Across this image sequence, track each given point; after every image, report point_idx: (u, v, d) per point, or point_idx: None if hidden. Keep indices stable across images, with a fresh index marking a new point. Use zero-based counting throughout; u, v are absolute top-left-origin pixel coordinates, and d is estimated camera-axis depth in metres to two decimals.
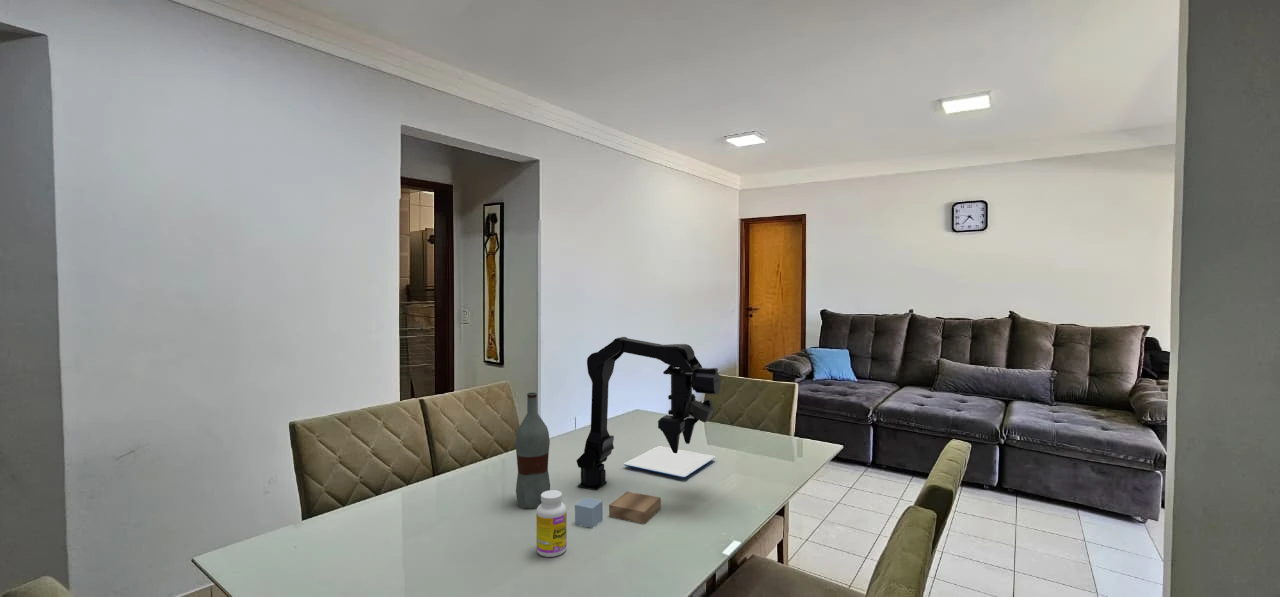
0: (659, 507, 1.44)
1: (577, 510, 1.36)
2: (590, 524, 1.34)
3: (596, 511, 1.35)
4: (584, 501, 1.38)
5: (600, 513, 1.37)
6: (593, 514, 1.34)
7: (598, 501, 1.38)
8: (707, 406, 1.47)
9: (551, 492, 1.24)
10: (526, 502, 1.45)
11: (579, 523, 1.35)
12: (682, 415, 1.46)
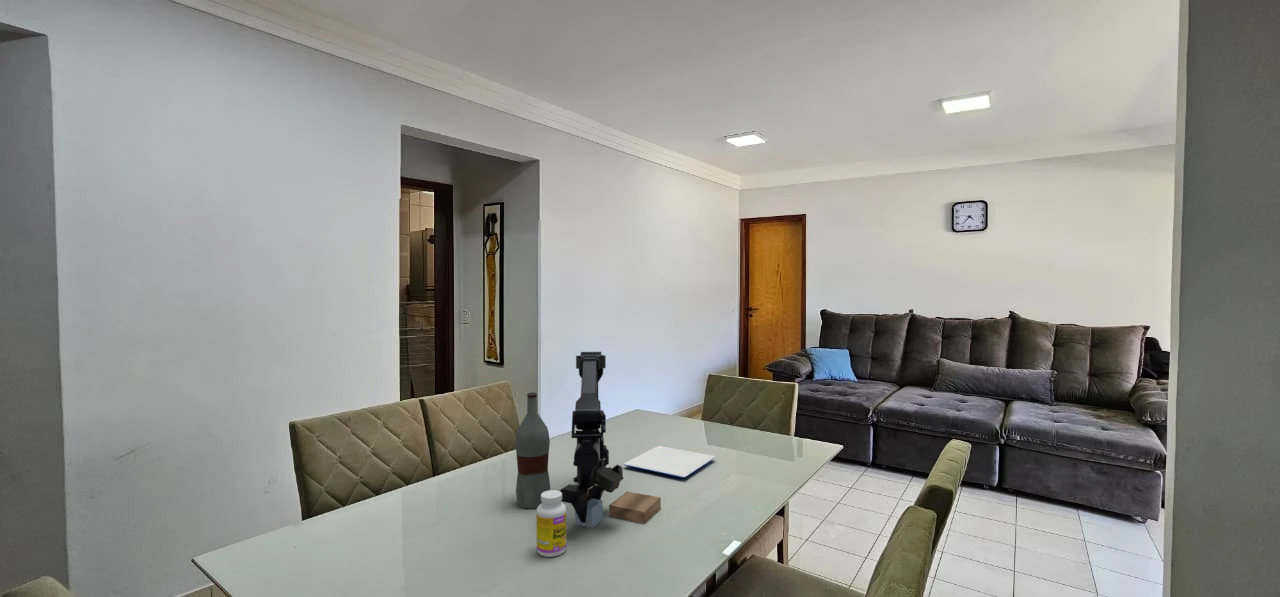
0: (659, 507, 1.44)
1: None
2: (590, 523, 1.34)
3: (596, 511, 1.35)
4: None
5: (600, 513, 1.37)
6: (593, 513, 1.34)
7: (598, 501, 1.38)
8: (615, 473, 1.35)
9: (551, 492, 1.24)
10: (526, 502, 1.45)
11: (579, 523, 1.35)
12: (587, 484, 1.34)
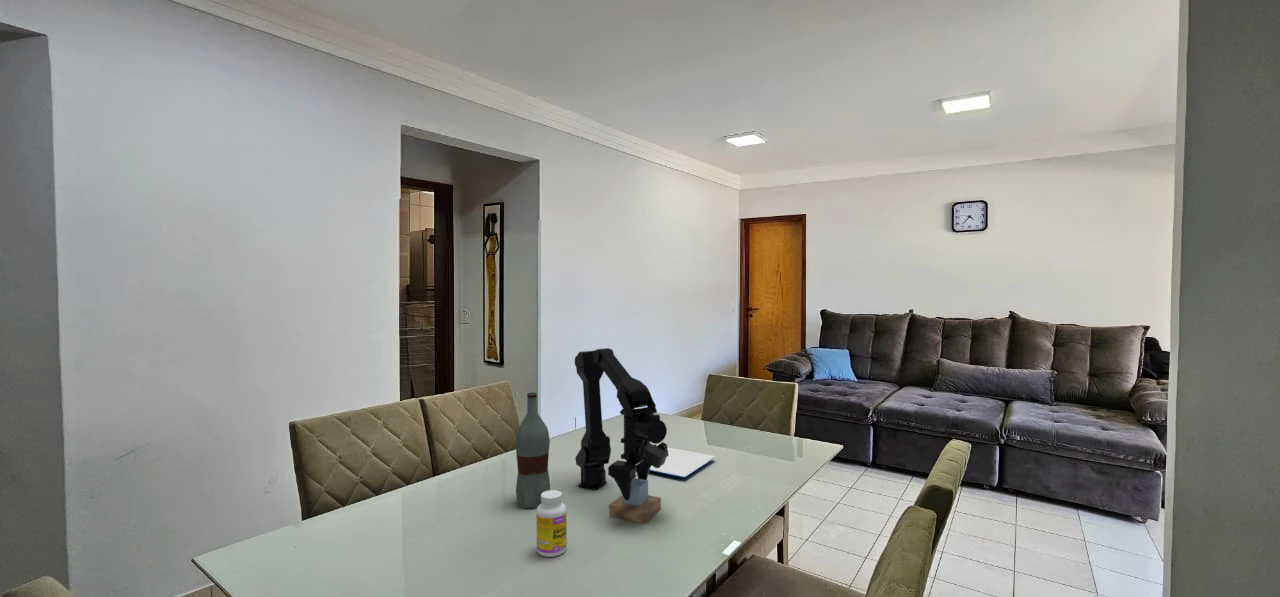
0: (659, 507, 1.44)
1: None
2: (638, 501, 1.39)
3: (643, 490, 1.41)
4: None
5: (646, 492, 1.43)
6: (640, 492, 1.40)
7: (644, 480, 1.43)
8: (661, 450, 1.41)
9: (551, 492, 1.24)
10: (526, 502, 1.45)
11: (626, 501, 1.41)
12: (635, 460, 1.39)
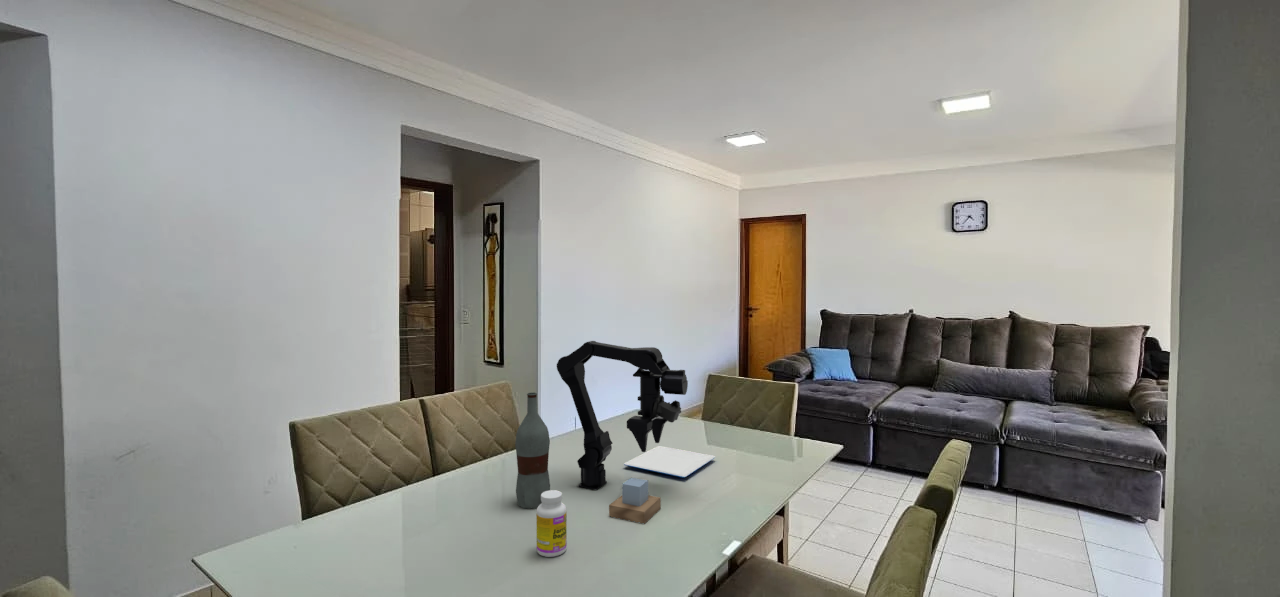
0: (659, 507, 1.44)
1: (624, 489, 1.41)
2: (638, 501, 1.39)
3: (643, 490, 1.41)
4: (630, 480, 1.44)
5: (646, 492, 1.43)
6: (640, 492, 1.40)
7: (644, 480, 1.43)
8: (675, 407, 1.54)
9: (551, 492, 1.24)
10: (526, 502, 1.45)
11: (626, 501, 1.41)
12: (650, 415, 1.53)
